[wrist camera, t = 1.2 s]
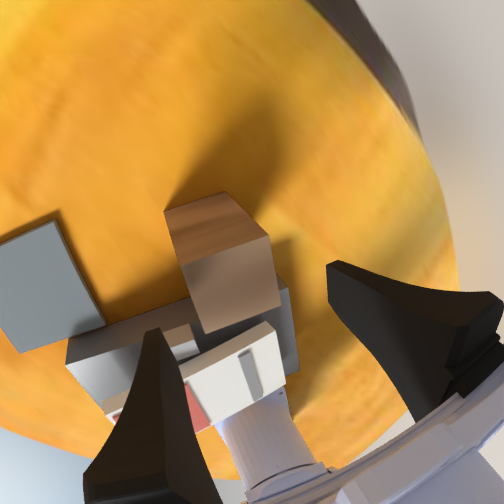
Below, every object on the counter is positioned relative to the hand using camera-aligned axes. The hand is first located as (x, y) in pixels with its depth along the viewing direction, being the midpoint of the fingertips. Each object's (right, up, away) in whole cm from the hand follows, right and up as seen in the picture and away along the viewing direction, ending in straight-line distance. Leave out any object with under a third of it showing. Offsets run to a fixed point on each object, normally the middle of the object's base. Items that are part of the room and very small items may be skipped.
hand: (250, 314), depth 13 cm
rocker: (-4, -7, +8) cm, 11 cm away
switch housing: (-5, -5, +11) cm, 13 cm away
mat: (-15, 0, +5) cm, 15 cm away
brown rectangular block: (-3, +4, +8) cm, 9 cm away
